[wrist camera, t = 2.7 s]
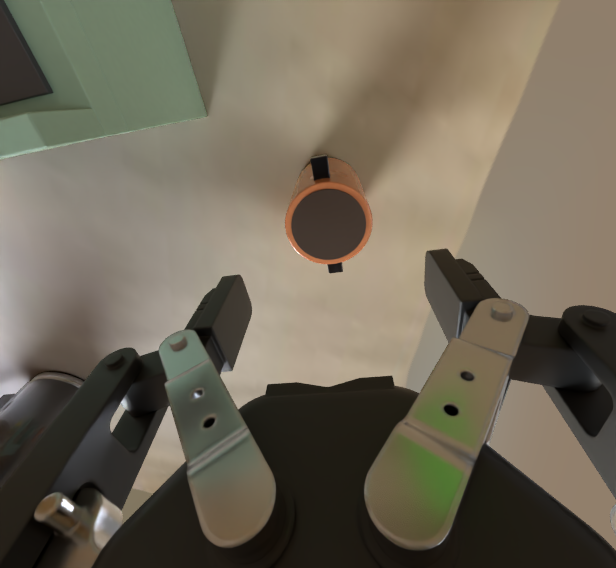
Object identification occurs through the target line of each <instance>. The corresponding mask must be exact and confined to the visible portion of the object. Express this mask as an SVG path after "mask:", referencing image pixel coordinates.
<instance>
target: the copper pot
mask: <svg viewBox="0 0 616 568" xmlns="http://www.w3.org/2000/svg"><path fill="white" fill-rule="evenodd" d="M310 160H311V163H310V164H309V165H308V166H306V168H305V169H304V170H303V171H302V172H301V174H300V175H299V177H298V180H297V183H296V186H295V189H294V192H293V195H292V198H291V201H290V204H289V207H288V210H287V213H286V218H285V229H286V234H287V237H288V239H289V241H290V243H291V245H292V246H293V248H294V249H295V250H296V251H297V252H298V253H299V254H300V255H302V256H303V257H304V258H306V259H308V260H310V261H313V262H316V263H320V264H328V270H329V273H336V272H343V267H342V262H344V261H346V260H348V259H350V258H352V257H354V256H355V255H356V254H357V253H359V252H360V251H361V250H362V248H363V247H364V246H365V244H366V243H367V241H368V239H369V237H370V234H371V231H372V213H371V210H370V207H369V204H368V202H367V199H366V196H365V194H364V191H363V189H362V186H361V183H360V181H359V178H358V176H357V174H356V172H355V171H354V170H353V168H352V167H351V166H350V165H348V164H347V163H345V162H344V161H342V160H339V159H335V158H328V155H327V154H325V155H319V156H314V157H311V159H310Z"/></svg>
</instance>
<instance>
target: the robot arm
mask: <svg viewBox="0 0 616 568" xmlns="http://www.w3.org/2000/svg"><path fill="white" fill-rule="evenodd" d="M424 286H425V293H426V296H427V299H428V301H429V303H430V305H431V307H432V309H433V311H434V313H435V315H436V317H437V320H438V322H439V324H440V326H441V328H442V330H443V332H444V334H445V336H446V338H447V340H448V343H449V344H448V345H447V347H446V349H445V351H444V352H443V354H442V356H441V358H440V359H439V361H438V362H437V364H436V366H435V368H434V370H433V371H432V373H431V374H430V376H429V378H428V380H427V381H426V383H425V385H424V387H423V388H422V390H421V392H420V393H417V392H415V391H412V390H410V389H407V388H403V387H398V386H394V382H393V377H392V376H382V377H368V378H359V379H355V380H352V381H348V382H345V383H341V384H338V385H335V386H331V387H322V386H316V385H309V384H303V383H297V382H296V383H282V384H268V385H267V390H266V395H263V396H260V397H258V398H255V399H253V400H252V401H250V402H248V403H247V404H245V405H244V406H242V407H241V408H240V409H237V407H236V405H235V403H234V401H233V399H232V398H231V396H230V394H229V392H228V390H227V388H226V386H225V385H224V383H223V381H222V379H221V377H220V374H221V372H226V371H232V370H233V367H234V364H235V362H236V359H237V356H238V353H239V350H240V347H241V344H242V341H243V338H244V335H245V332H246V330H247V327H248V324H249V321H250V318H251V315H252V306H251V301H250V299H249V296H248V293H247V290H246V287H245V284H244V281H243V279H242V277H241V276H240V275H232V276H224V277H222V278H221V280H220V282H219V284H218V285H217V287H216V288H214V289H212V290H211V291H210V292H209V293H207V294H206V295H205V296H204V298H203V300H202V301H201V303H200V305H199V306H198V308H197V309H196V310H197V311H195V313H194V314H193V316H192V318H191V319H190V321H189V323H188V324H187V326H186V328H185V329H184V330H181V331H178V332H176V333H173V334H172V335H170V336H168V337H167V338H166V339H165V340H164V341H163V342H162V343H161V345H160V346H159V350H158V351H155V352H152V353H149V354H145V355H142V356H139V355H138V353H137V352H136V350H135V349H133V348H123V349H119V350H117V351H115V352H113V353H111V354H109V355H108V356H106V357H105V358H104V359H102V360H101V361H100V362H99V364H98V365H97V366H96V367H95V369H94V370H93V371H92V372H91V374H90V375H89V376H88V377H87V379H86V380H85V381H82V380H80V379H78V378H76V377H73V376H70V375H67V374H63V373H57V372H45V373H41V374H39V375H37V376H35V377H34V378H33V379H32V380H31V381H30V382H27V383H26V384H25V385H24V386H23V387H22V388H21V389H20V390H19V391H18V392H17V393H16V394H8V395H3V396H2V397H1V398H0V568H616V550H615V549H614V548H612V546H611V545H610V544H609V543H608V542H607V541H606V540H605V539H604V538H603V537H602V536H600V535H599V534H598V533H597V532H596V531H595V530H594V529H592V528H591V527H590V526H589V525H587V524H586V523H585V522H584V521H583V520H581V519H580V518H579V517H578V516H576V515H575V514H574V513H572V512H571V511H570V510H569V509H567V508H566V507H565V506H564V505H562V504H561V503H560V502H559V501H557V500H556V499H555V498H554V497H552V496H551V495H550V494H549V493H547V492H546V491H545V490H544V489H542V488H541V487H540V486H539V485H537V484H536V483H535V482H534V481H532V480H531V479H530V478H528V477H527V476H526V475H525V474H524V473H522V472H521V471H520V470H518V469H517V468H516V467H515V466H513V465H512V464H511V463H510V462H508V461H507V460H506V459H505V458H503V457H502V456H501V455H500V454H498V453H497V452H496V451H495V450H493V449H492V448H491V447H490V446H489V444H490V441H491V437H492V434H493V431H494V428H495V425H496V422H497V419H498V416H499V413H500V410H501V407H502V405H503V402H504V399H505V396H506V393H507V390H508V387H509V384H510V381H511V379H512V380H518V381H524V382H529V383H534V384H540V385H543V387H544V389H545V390H546V392H547V393H548V395H549V396H550V398H551V399H552V401H553V403H554V404H555V406H556V407H557V409H558V410H559V412H560V413H561V415H562V417H563V418H564V420H565V421H566V423H567V424H568V426H569V427H570V429H571V431H572V432H573V434H574V435H575V437H576V438H577V440H578V441H579V443H580V445H581V446H582V448H583V449H584V451H585V452H586V454H587V455H588V457H589V458H590V460H591V461H592V463H593V464H594V466H595V468H596V469H597V471H598V472H599V474H600V475H601V477H602V479H603V480H604V482H605V483H606V485H607V486H608V488H609V489H610V491H611V493H612V494H613V496H614V497H615V499H616V313H613V312H611V311H609V310H606V309H603V308H599V307H594V306H585V305H581V306H580V305H579V306H572V307H569V308H567V309H566V310H565V311H564V312H563V315H562V318H551V317H541V316H533V315H529V313H528V311H527V310H526V309H525V308H524V307H523V306H522V305H520V304H518V303H516V302H514V301H511V300H507V299H501V298H500V296H499V295H498V294H497V293H496V292H495V290H494V289H493V288H492V287H491V286H490V284H489V283H488V282H487V281H486V280H484V277H483V276H482V275H481V274H480V273H479V271H478V270H477V269H476V268H475V267H474V265H473V264H471V263H469V262H467V261H465V260H463V259H455V258H454V257H453V256H452V254H451V253H450V252H449V251H448V249H439V250H431V251H427V252H426V257H425V281H424ZM120 404H121V405H122V406H123V407H124V408H125V412H124V413H123V415H122V417H121V418H120V420H119V422H118V424H117V425H116V427H115V429H114V431H113V432H112V433H111V431H110V421H111V418H112V416H113V415H114V413H115V411H116V410H117V408H118V406H119V405H120ZM168 406H170V407H171V410H172V414H173V417H174V421H175V424H176V428H177V431H178V435H179V438H180V442H181V445H182V449H183V452H184V455H185V459H186V462H185V463H184V464H183V465H182V466H181V467H180V468H179V469H178V470H177V471H176V472H175V473H174V474H173V475H172V476H171V477H170V478H169V479H168V480H167V481H166V482H165V483H164V484H163V485H162V486H161V487H160V488H159V489H158V490H157V491H156V492H155V493H154V494H153V495H152V496H151V497H150V498H149V499H148V500H147V501H146V502H145V503H144V504H143V505H142V506H141V507H140V508H139V509H138V510H137V511H136V512H135V513H134V514H133V515H132V516H131V517H130V518H129V519H128V520H127V521H126V522H125V523H124V524H123V525H122V522H123V515H122V512H121V510H122V508H123V506H124V504H125V502H126V499H127V497H128V495H129V493H130V491H131V488H132V486H133V484H134V482H135V479H136V477H137V475H138V473H139V470H140V468H141V466H142V464H143V462H144V459H145V457H146V455H147V453H148V450H149V448H150V446H151V444H152V441H153V439H154V437H155V435H156V433H157V430H158V428H159V426H160V424H161V421H162V419H163V417H164V415H165V412H166V410H167V408H168ZM610 521H611V525H612V529H613V531H614V533H615V535H616V504H615V505H614V506H613V508H612V510H611V513H610Z"/></svg>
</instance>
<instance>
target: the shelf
mask: <svg viewBox="0 0 616 568" xmlns="http://www.w3.org/2000/svg"><path fill="white" fill-rule="evenodd" d="M203 117H207V113H206V110H205V107H204V103H203V100H202V97H201V94H200V91H199V88H198V84H197V81H196V78H195V75H194V72H193V69H192V65H191V62H190V59H189V56H188V53H187V50H186V46H185V43H184V40H183V37H182V34H181V31H180V27H179V24H178V21H177V18H176V15H175V12H174V9H173V5H172V2H171V0H0V160H1V159H5V158H10V157H15V156H19V155H24V154H28V153H33V152H38V151H42V150H47V149H52V148H56V147H61V146H66V145H70V144H75V143H80V142H84V141H89V140H94V139H98V138H103V137H108V136H113V135H118V134H123V133H128V132H134V131H139V130H144V129H149V128H154V127H159V126H164V125H169V124H174V123H179V122H184V121H189V120H194V119H198V118H203Z"/></svg>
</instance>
